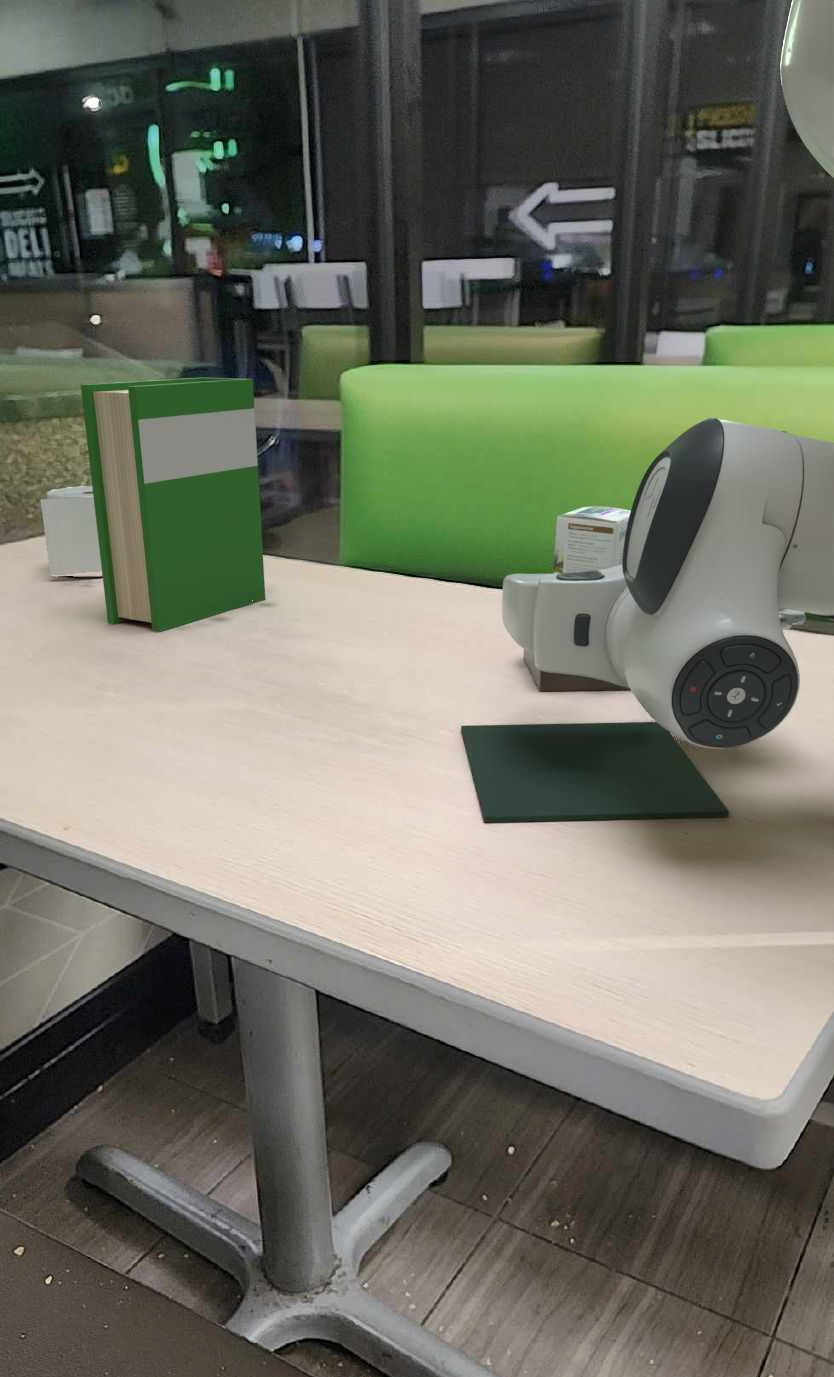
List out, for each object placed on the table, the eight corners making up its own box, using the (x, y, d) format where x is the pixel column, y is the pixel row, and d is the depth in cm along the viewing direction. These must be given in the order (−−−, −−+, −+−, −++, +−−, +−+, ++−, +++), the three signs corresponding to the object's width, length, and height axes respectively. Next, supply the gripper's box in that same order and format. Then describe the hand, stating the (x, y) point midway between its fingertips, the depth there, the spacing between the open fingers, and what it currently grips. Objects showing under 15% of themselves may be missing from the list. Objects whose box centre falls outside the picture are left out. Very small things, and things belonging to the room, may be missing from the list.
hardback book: (158, 632, 118) (135, 386, 108) (107, 623, 121) (80, 384, 112) (265, 599, 132) (252, 378, 122) (216, 592, 135) (200, 377, 125)
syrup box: (571, 661, 107) (580, 504, 101) (630, 670, 104) (642, 509, 98) (546, 676, 103) (553, 512, 97) (606, 685, 100) (618, 518, 94)
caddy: (632, 656, 109) (636, 605, 107) (659, 689, 99) (664, 633, 97) (523, 658, 108) (525, 606, 106) (539, 691, 98) (541, 635, 96)
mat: (660, 726, 90) (661, 721, 90) (728, 816, 73) (729, 811, 73) (460, 730, 89) (461, 725, 89) (484, 822, 73) (484, 816, 73)
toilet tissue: (146, 561, 153) (138, 484, 149) (132, 579, 142) (123, 497, 138) (65, 562, 152) (56, 485, 148) (45, 581, 141) (34, 498, 137)
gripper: (821, 577, 76) (755, 540, 88) (518, 579, 75) (494, 542, 87) (808, 668, 78) (745, 620, 91) (514, 672, 77) (492, 622, 90)
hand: (620, 582), depth 89 cm, fingers open, 8 cm apart
